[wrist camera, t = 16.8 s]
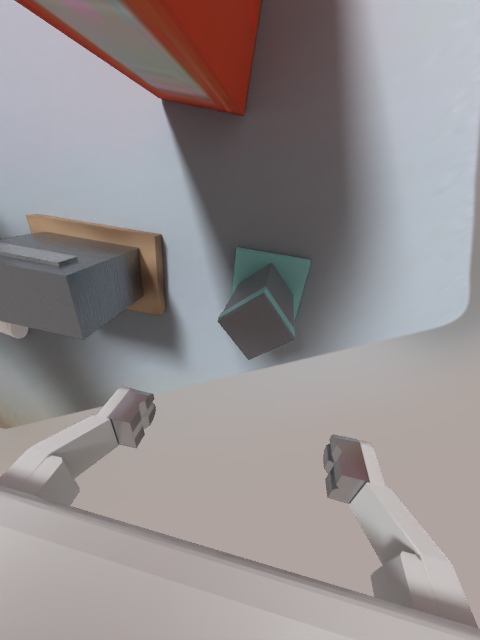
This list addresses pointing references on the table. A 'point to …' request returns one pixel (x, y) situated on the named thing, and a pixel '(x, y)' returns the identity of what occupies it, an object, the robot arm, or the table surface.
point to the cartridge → (260, 313)
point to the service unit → (66, 282)
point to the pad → (287, 266)
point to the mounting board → (143, 240)
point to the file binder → (167, 44)
